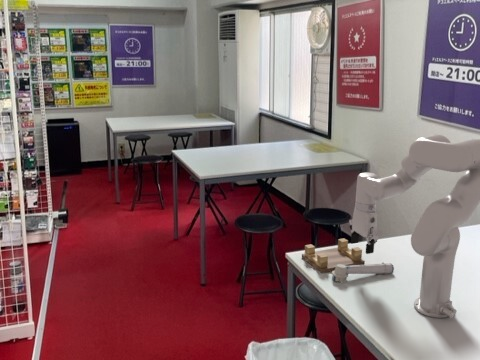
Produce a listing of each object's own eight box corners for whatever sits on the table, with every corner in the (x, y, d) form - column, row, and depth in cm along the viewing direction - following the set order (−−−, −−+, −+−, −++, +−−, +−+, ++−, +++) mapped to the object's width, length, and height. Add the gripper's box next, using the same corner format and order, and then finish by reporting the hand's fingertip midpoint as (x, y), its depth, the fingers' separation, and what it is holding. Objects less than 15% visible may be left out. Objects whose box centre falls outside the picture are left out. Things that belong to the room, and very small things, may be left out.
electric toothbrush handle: (395, 266, 196) (337, 266, 189) (392, 282, 198) (334, 282, 190) (388, 260, 201) (331, 260, 194) (385, 276, 203) (328, 276, 195)
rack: (364, 264, 206) (365, 250, 205) (321, 273, 199) (322, 259, 198) (342, 249, 221) (343, 236, 219) (301, 257, 213) (302, 244, 212)
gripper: (388, 212, 183) (384, 255, 188) (360, 197, 198) (356, 238, 203) (371, 215, 180) (367, 259, 185) (343, 199, 195) (340, 240, 200)
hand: (361, 247), depth 194 cm, fingers open, 9 cm apart
